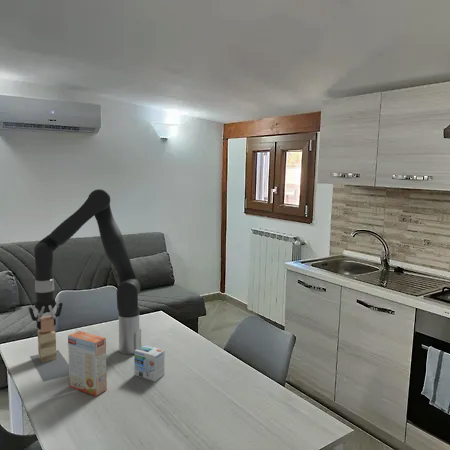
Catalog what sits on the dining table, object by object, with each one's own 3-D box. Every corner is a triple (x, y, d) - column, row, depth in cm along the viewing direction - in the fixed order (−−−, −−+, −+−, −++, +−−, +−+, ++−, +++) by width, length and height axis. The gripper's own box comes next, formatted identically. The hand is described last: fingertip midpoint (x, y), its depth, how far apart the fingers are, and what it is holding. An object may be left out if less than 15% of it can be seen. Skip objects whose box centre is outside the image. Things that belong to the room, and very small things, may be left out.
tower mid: (56, 345, 185) (55, 332, 184) (41, 349, 182) (40, 335, 181) (52, 341, 190) (52, 328, 189) (38, 344, 187) (37, 330, 186)
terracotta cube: (54, 330, 184) (53, 319, 184) (41, 332, 182) (41, 321, 181) (51, 326, 189) (50, 315, 188) (39, 328, 186) (38, 317, 185)
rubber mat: (74, 374, 174) (74, 373, 174) (43, 382, 167) (43, 381, 167) (58, 350, 195) (58, 350, 195) (29, 357, 188) (29, 356, 188)
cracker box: (107, 389, 163) (106, 337, 160) (96, 397, 157) (94, 342, 155) (80, 380, 169) (79, 329, 166) (68, 387, 164) (67, 335, 161)
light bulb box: (133, 375, 174) (133, 350, 173) (144, 368, 180) (144, 344, 179) (155, 382, 169) (155, 356, 168) (165, 374, 175) (165, 349, 174)
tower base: (56, 359, 186) (56, 345, 185) (41, 362, 183) (41, 349, 182) (53, 354, 191) (52, 341, 190) (38, 357, 188) (38, 344, 187)
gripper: (60, 284, 190) (61, 321, 192) (24, 289, 182) (26, 328, 184) (64, 289, 184) (65, 327, 186) (28, 294, 175) (30, 334, 178)
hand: (46, 327), depth 185 cm, fingers closed on terracotta cube, 4 cm apart
